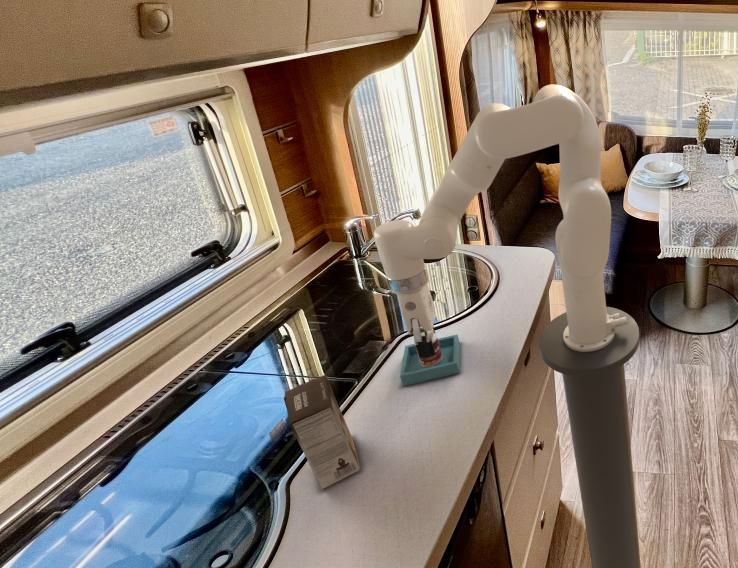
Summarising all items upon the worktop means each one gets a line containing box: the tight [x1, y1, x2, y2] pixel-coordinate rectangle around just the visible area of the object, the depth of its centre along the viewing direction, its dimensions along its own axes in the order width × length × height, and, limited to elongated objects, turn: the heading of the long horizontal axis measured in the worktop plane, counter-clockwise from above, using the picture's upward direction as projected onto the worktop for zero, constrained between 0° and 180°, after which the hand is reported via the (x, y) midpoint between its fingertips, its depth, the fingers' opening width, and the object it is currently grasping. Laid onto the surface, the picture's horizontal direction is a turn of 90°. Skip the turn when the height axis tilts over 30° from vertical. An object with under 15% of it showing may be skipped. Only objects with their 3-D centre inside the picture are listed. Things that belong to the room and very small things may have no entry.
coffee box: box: [284, 374, 361, 490], centre depth 87 cm, size 9×6×16 cm
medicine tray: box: [399, 334, 461, 387], centre depth 112 cm, size 12×11×3 cm
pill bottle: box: [413, 327, 442, 367], centre depth 111 cm, size 5×5×8 cm
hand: (428, 347), depth 111 cm, fingers closed on pill bottle, 4 cm apart
